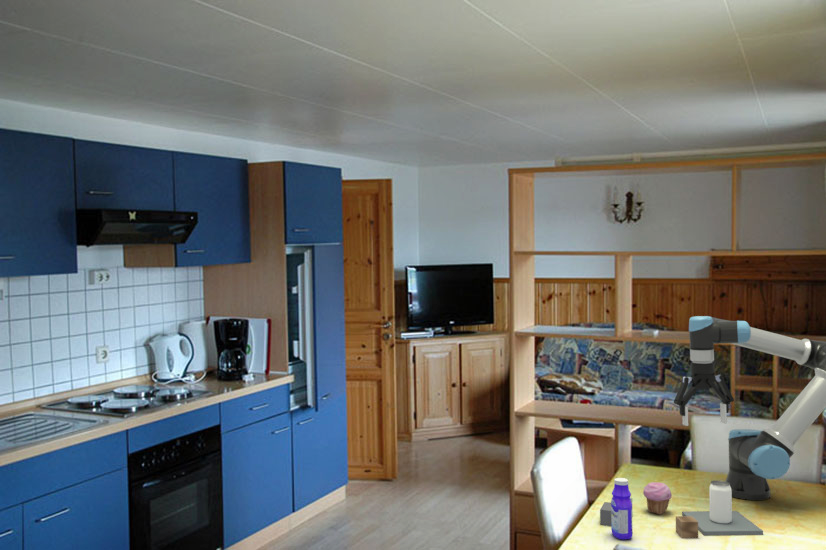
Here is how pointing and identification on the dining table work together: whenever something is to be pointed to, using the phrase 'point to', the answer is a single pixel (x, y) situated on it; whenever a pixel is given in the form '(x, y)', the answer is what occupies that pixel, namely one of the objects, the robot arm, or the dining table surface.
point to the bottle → (621, 510)
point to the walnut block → (686, 527)
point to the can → (720, 502)
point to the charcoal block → (605, 514)
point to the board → (736, 527)
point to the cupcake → (657, 497)
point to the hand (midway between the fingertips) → (704, 424)
